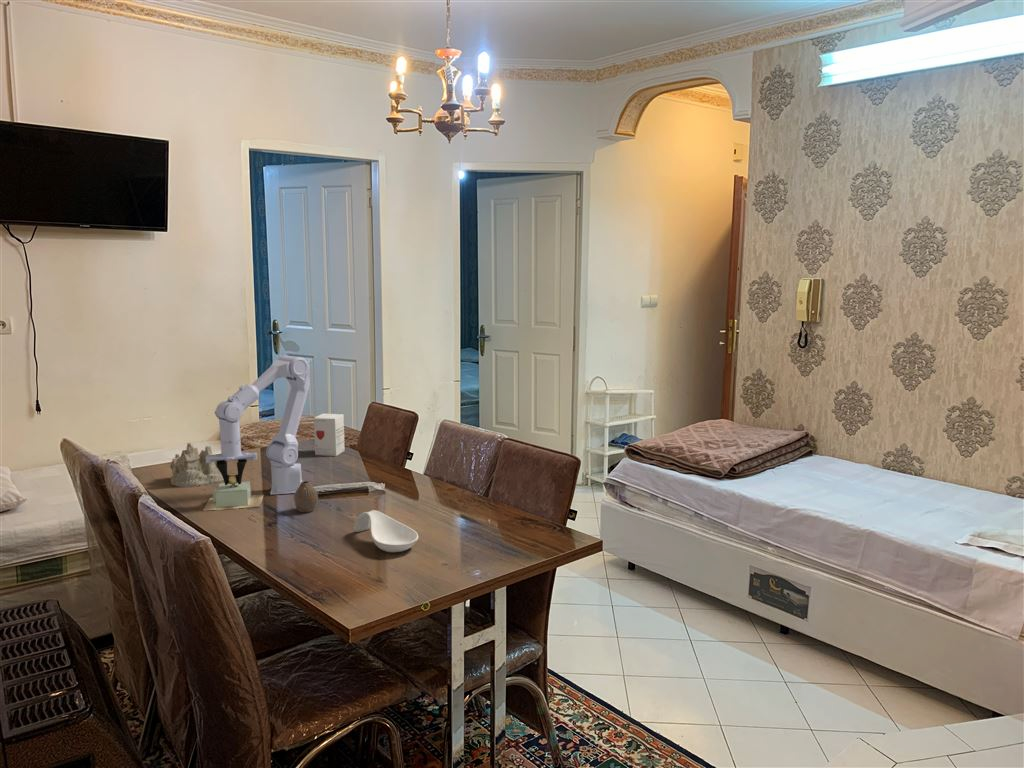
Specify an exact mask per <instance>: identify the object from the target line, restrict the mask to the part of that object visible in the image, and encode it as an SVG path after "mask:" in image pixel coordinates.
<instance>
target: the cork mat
mask: <svg viewBox="0 0 1024 768" xmlns="http://www.w3.org/2000/svg"><path fill="white" fill-rule="evenodd" d="M263 498H264V494H253V495H252V494H251V499H250V502H249V504H248V505H247V506H233V507H218V508H217V507H216V502H213V497H210V498H209V499H208V501H207V503H206V504H205V506H204V508H203V512H205V511H204V510H215V511H223V510H224V509H229V510H240V509H239V508H244V509H255V508H254V507H258V508H261V505H262V501H263ZM260 504H261V505H260ZM224 511H225V510H224Z"/></svg>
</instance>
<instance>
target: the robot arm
mask: <svg viewBox="0 0 1024 768" xmlns="http://www.w3.org/2000/svg"><path fill="white" fill-rule="evenodd" d="M310 369H311V366H310V364H309V363H308V361H307V360H306V359H305V358H304V357H301V356H298V357H297V356H289V355H288V354H284V355H281V356H279V357H278V358H277V359H275V360H274V361H273V362H272V363H271V366H269V367H268V369H266V370H265V371H264V372H263V373H261V375H260V376H259V377H258V378H257V379H256V380H255V381H254V382H253V383H252V384H245V385H241V386H239V387H238V389H239V390H237V391H236V392H235V393H234V394H232V395H231V396H228V397H227V400H224V401H221V402H219V403H218V404H217V406H216V408H215V411H214V415H215V417H216V418H217V419H218V422H219V423H218V424H219V436H220V439H219V441H220V453H217V454H212V455H207V456H206V463H210V462H217V464H216V466H217V468H218V469H219V471H220V473H221V474H222V477H223V479H224V481H223V483H225V485H228V481H227V475H228V462H237V463H236V466H237V467H236V469H237V474H238V484H241V482H242V480H243V472H244V470H245V467H246V464H247V462H248V461H257V459H258V453H257V452H242V443H241V427H240V425H241V424H240V419H242V417H243V416H244V415H243V414H244V412H245V410H247V409H248V408H249V407H251V405H252V404H254V403H255V402H256V401H257V400H259V397H260V393H261V392H262V391H263V390H265V389H266V388H267V387H269V386H270V385H271V384H272V383H274V382H275V381H277V380H279V379H280V378H281V379H282V378H285V379H286V381H288V383H289V385H290V386H291V387H290V391H289V395H288V397H287V401H286V404H285V408H284V412H283V415H282V419H281V422H280V426H279V429H278V432H277V434H275V435H274V436H273V437H272V438H271V439H272V440H271V441H270V444H268V446H267V448H266V451H265V454H266V455H265V456H266V457H267V459H268V460H269V461H270V470H271V472H270V473H271V490H270V492H269V494H270V495H272V496H273V495H284V494H286V495H287V494H295V492H296V490H297V489H298V487H299V486H300V484H301V482H303V477H302V464H301V463H297V460H298V457H299V451H298V448H299V442H298V440H297V438H296V437H297V432H298V429H299V425H300V422H301V419H302V414H303V412H304V406H305V404H306V400H307V397H308V394H309V393H308V392H309V389H310V387H311V381H310Z"/></svg>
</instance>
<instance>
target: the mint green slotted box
mask: <svg viewBox="0 0 1024 768" xmlns="http://www.w3.org/2000/svg"><path fill="white" fill-rule="evenodd" d="M251 485H252V484H251V480H250V481H241V484H238V483H236V484H235V487H232V484H228V485H225V483H224V482H219V485H218V486H217V488H214V489H213V490H212V498H213V502H216V507H217V508H218V507H233V506H247V505H248V504H249V502H250V499H251V495H252V486H251Z"/></svg>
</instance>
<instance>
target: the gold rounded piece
mask: <svg viewBox="0 0 1024 768" xmlns="http://www.w3.org/2000/svg"><path fill="white" fill-rule="evenodd" d="M227 474H228V473H227ZM227 481H228V484H232V487H235V484H236V483H238V473H229V474H228V475H227Z"/></svg>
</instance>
